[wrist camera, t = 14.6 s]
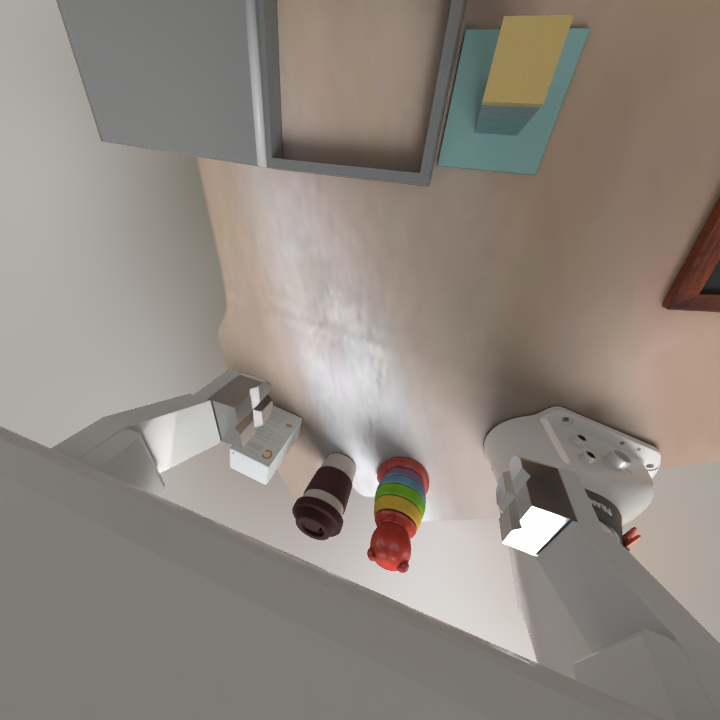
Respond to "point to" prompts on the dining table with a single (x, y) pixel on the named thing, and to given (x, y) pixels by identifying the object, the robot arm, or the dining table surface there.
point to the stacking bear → (397, 512)
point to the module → (521, 71)
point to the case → (208, 80)
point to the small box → (267, 446)
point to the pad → (467, 99)
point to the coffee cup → (326, 498)
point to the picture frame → (700, 272)
